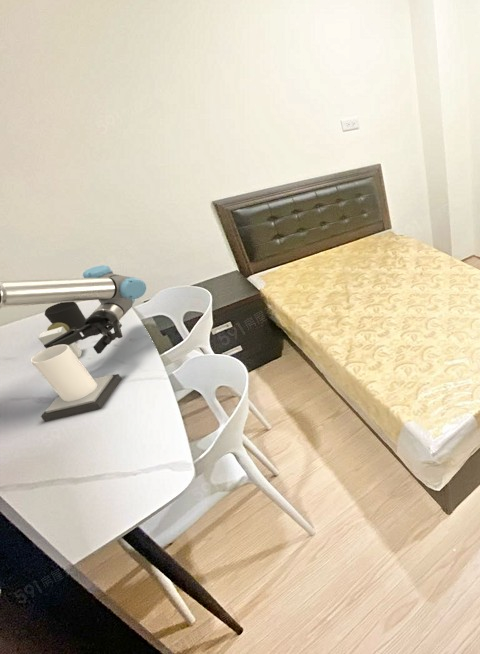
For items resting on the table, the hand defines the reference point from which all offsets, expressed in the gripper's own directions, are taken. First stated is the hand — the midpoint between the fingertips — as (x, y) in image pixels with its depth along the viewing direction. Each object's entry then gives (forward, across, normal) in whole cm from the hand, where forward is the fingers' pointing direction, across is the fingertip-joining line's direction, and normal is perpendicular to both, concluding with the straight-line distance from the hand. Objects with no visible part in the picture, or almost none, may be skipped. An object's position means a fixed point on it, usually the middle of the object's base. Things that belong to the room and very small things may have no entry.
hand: (70, 355), depth 125 cm
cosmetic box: (-22, +17, -14) cm, 32 cm away
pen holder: (-46, +27, -14) cm, 56 cm away
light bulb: (-32, +22, -14) cm, 42 cm away
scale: (+6, 0, -14) cm, 15 cm away
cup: (+5, 0, -11) cm, 12 cm away
